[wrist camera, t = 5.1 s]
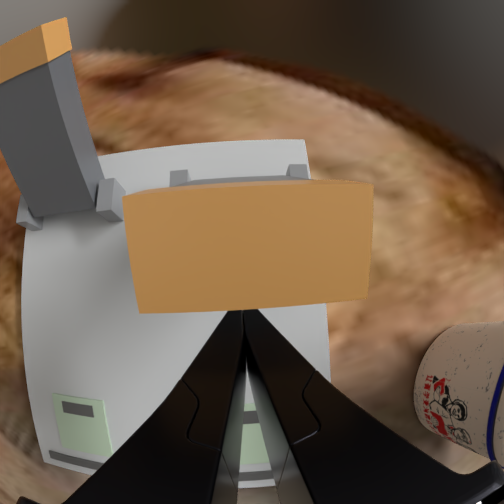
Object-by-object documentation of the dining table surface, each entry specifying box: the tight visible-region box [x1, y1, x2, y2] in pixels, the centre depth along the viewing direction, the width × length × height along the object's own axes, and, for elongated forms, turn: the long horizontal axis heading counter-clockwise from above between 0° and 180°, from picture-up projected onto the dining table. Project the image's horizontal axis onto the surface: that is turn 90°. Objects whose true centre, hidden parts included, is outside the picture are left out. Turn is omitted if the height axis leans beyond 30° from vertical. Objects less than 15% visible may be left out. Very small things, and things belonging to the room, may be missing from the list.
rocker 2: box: [122, 175, 373, 314], centre depth 11 cm, size 3×5×11 cm
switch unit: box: [16, 140, 331, 488], centre depth 16 cm, size 22×20×4 cm
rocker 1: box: [0, 17, 105, 217], centre depth 12 cm, size 3×5×11 cm, turn 94°
